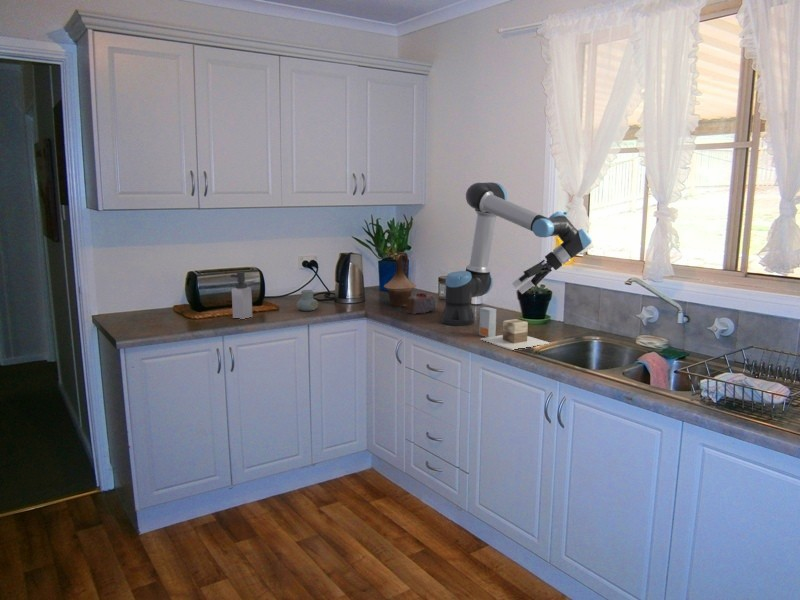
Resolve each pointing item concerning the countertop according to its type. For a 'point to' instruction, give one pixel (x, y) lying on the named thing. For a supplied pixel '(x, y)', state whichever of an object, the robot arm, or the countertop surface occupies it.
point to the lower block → (515, 337)
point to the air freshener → (307, 301)
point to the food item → (420, 304)
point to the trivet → (511, 346)
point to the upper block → (515, 326)
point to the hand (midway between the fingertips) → (516, 288)
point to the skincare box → (487, 322)
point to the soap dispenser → (241, 298)
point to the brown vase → (400, 282)
